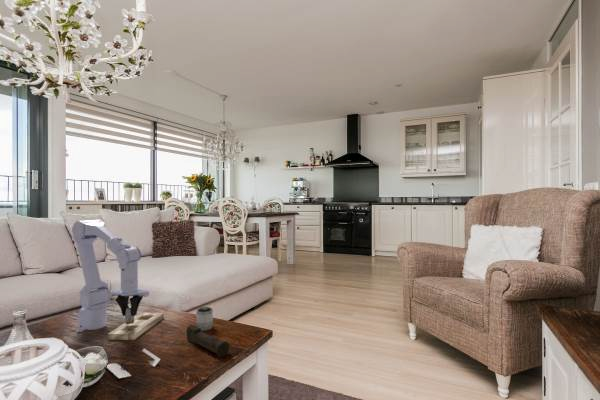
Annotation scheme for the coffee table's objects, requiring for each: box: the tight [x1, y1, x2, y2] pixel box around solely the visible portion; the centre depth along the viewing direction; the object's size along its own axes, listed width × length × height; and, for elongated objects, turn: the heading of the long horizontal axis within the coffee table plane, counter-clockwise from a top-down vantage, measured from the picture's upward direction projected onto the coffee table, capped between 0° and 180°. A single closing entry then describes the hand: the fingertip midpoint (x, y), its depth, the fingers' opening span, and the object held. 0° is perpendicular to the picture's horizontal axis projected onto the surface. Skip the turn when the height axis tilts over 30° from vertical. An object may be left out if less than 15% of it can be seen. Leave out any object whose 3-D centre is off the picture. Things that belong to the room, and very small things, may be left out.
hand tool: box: [185, 324, 230, 359], centre depth 114 cm, size 23×5×6 cm, turn 47°
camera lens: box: [195, 306, 214, 332], centre depth 130 cm, size 6×6×8 cm
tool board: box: [107, 312, 165, 341], centre depth 128 cm, size 10×22×3 cm, turn 177°
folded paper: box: [106, 348, 161, 379], centre depth 100 cm, size 12×12×2 cm
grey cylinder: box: [124, 305, 135, 324], centre depth 123 cm, size 3×3×6 cm
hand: (129, 315), depth 123 cm, fingers closed on grey cylinder, 3 cm apart
